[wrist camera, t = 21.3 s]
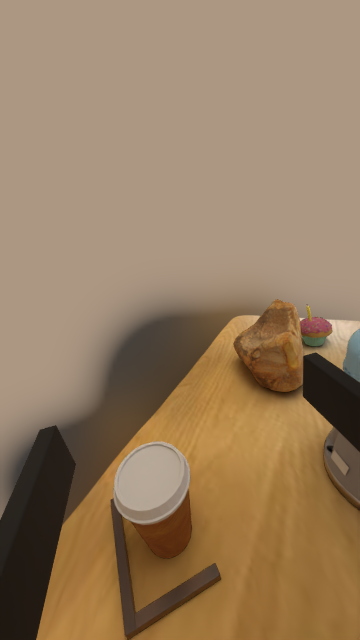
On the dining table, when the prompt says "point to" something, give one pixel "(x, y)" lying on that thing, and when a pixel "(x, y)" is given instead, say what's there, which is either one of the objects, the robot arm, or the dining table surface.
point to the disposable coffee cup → (156, 496)
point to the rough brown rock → (274, 348)
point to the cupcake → (314, 329)
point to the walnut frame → (164, 604)
